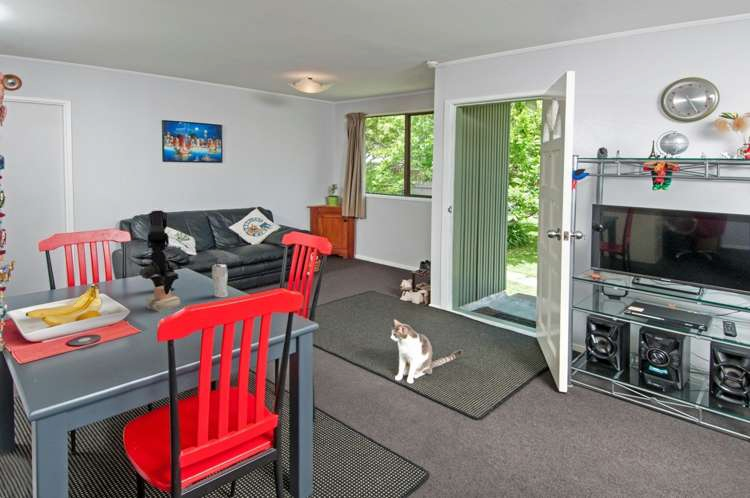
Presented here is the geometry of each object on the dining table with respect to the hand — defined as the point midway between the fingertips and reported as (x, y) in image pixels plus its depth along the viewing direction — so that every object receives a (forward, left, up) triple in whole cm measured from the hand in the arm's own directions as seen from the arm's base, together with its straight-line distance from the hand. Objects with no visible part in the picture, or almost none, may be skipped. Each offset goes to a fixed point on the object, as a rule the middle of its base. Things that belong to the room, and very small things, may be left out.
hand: (162, 292), depth 214 cm
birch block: (0, 0, -6) cm, 6 cm away
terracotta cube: (0, 0, -2) cm, 2 cm away
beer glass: (+6, +26, -7) cm, 28 cm away
